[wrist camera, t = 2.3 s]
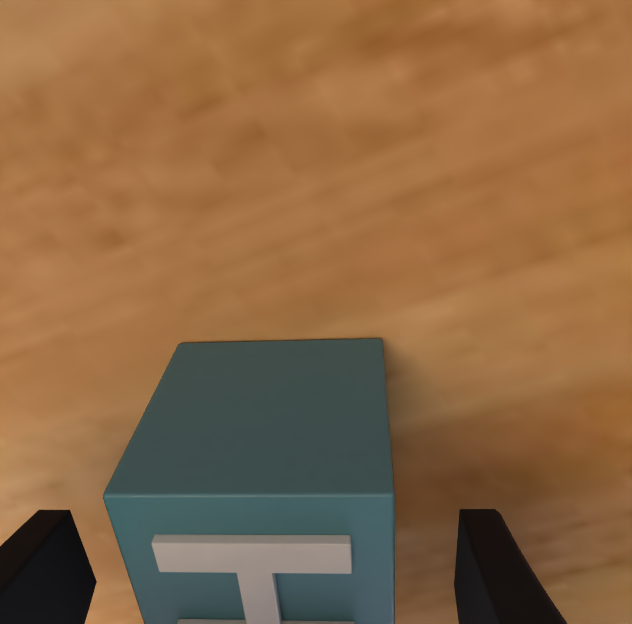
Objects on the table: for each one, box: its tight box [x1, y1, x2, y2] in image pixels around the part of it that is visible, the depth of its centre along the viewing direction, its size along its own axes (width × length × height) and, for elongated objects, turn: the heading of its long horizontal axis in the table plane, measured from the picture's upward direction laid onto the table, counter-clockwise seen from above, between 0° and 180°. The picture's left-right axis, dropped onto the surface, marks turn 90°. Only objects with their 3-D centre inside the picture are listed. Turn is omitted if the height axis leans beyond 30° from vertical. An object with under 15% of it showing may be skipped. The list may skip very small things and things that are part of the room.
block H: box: [103, 338, 395, 624], centre depth 12 cm, size 5×5×5 cm
